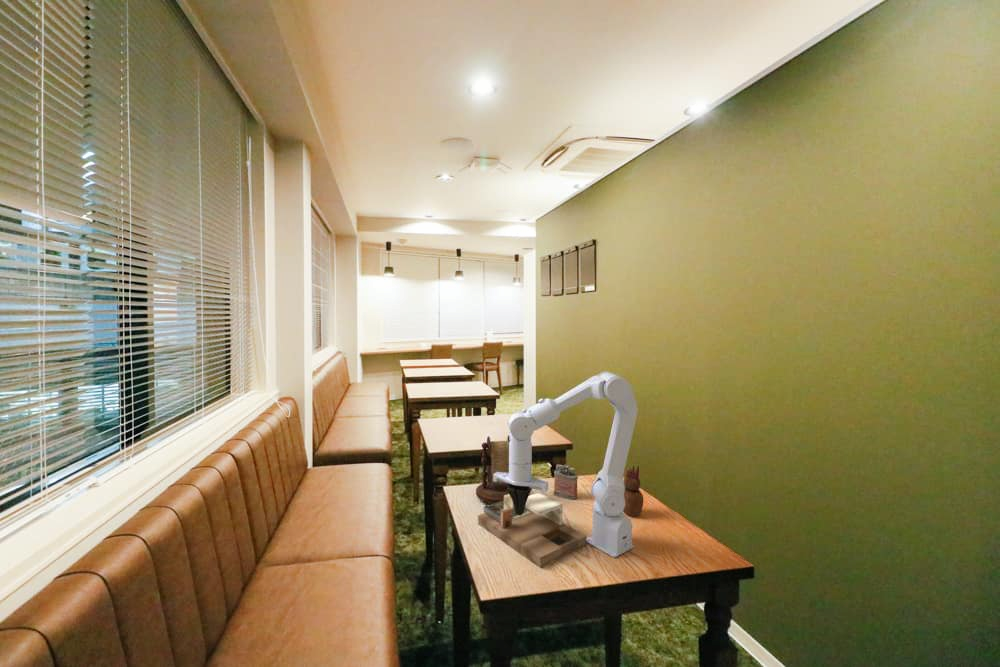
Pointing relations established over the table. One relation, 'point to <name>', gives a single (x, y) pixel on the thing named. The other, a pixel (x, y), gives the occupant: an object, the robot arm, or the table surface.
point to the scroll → (494, 471)
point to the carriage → (502, 517)
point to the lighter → (565, 482)
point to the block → (508, 502)
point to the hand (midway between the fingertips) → (520, 513)
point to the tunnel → (537, 531)
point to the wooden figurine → (632, 493)
